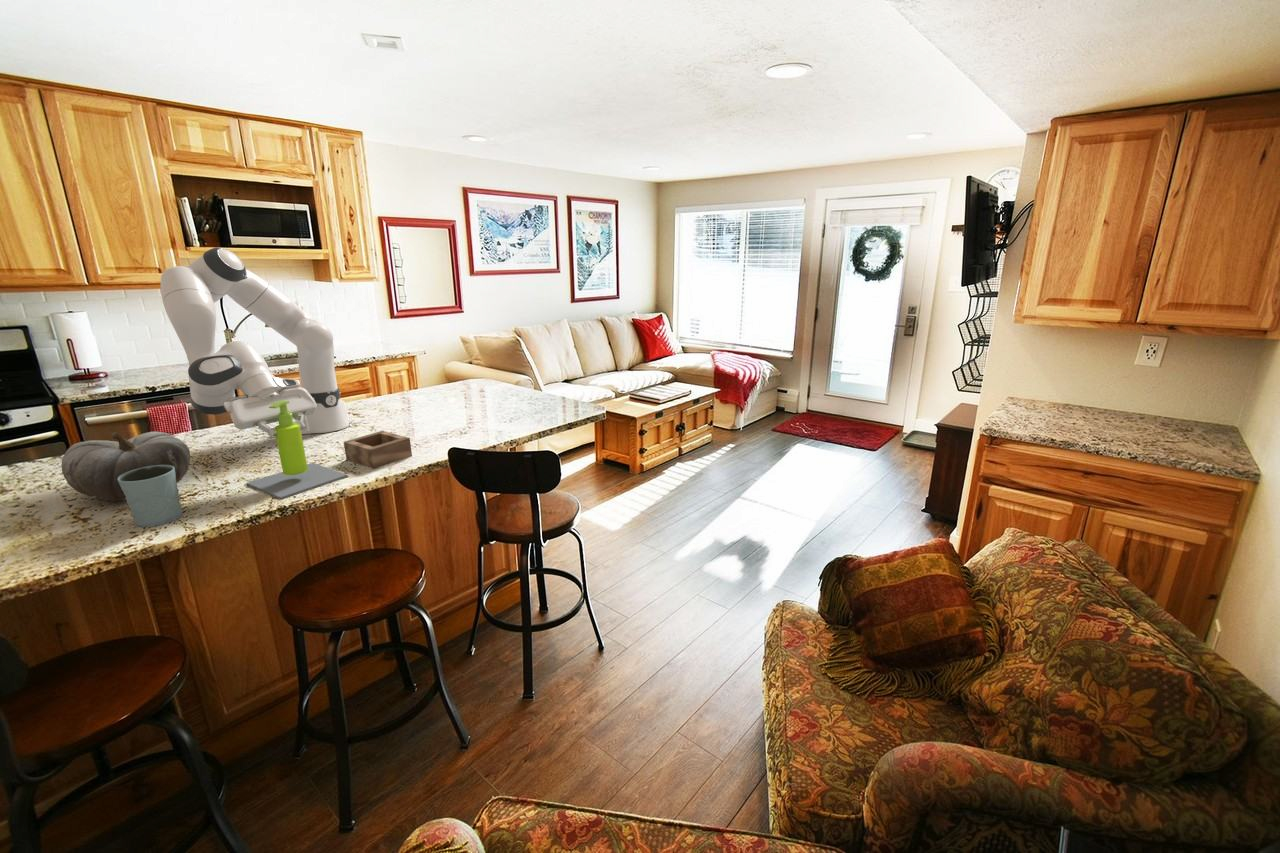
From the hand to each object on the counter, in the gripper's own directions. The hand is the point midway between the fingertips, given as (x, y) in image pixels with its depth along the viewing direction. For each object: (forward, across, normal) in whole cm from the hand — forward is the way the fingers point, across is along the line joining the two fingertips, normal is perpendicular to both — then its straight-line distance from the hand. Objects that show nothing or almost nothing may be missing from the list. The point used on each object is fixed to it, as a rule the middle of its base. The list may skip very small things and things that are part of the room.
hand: (288, 431), depth 149 cm
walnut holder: (+12, +23, +8) cm, 27 cm away
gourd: (-11, -26, +32) cm, 43 cm away
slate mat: (+10, 0, +11) cm, 15 cm away
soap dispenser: (+8, 0, +8) cm, 12 cm away
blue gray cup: (+7, -30, +14) cm, 34 cm away
